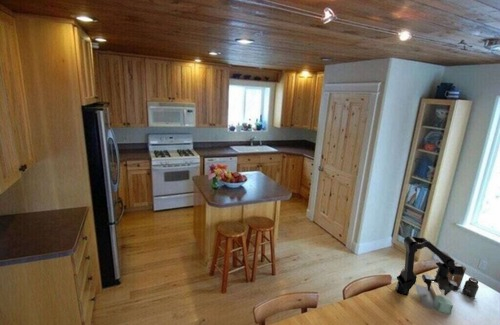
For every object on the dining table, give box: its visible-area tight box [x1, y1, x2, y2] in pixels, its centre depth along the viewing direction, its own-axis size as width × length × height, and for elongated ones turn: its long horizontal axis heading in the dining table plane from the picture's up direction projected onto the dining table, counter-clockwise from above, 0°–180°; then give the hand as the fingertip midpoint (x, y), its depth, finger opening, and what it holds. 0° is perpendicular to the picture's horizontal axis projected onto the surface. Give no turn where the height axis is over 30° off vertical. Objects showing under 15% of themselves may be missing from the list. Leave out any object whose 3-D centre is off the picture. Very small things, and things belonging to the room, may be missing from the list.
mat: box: [413, 283, 437, 311], centre depth 169 cm, size 15×21×1 cm
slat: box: [430, 283, 444, 299], centre depth 170 cm, size 4×14×4 cm, turn 161°
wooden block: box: [448, 260, 467, 286], centre depth 182 cm, size 4×11×18 cm, turn 97°
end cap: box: [434, 295, 454, 315], centre depth 160 cm, size 7×6×6 cm
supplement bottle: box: [461, 276, 480, 299], centre depth 173 cm, size 7×7×12 cm
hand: (436, 293), depth 171 cm, fingers open, 9 cm apart
